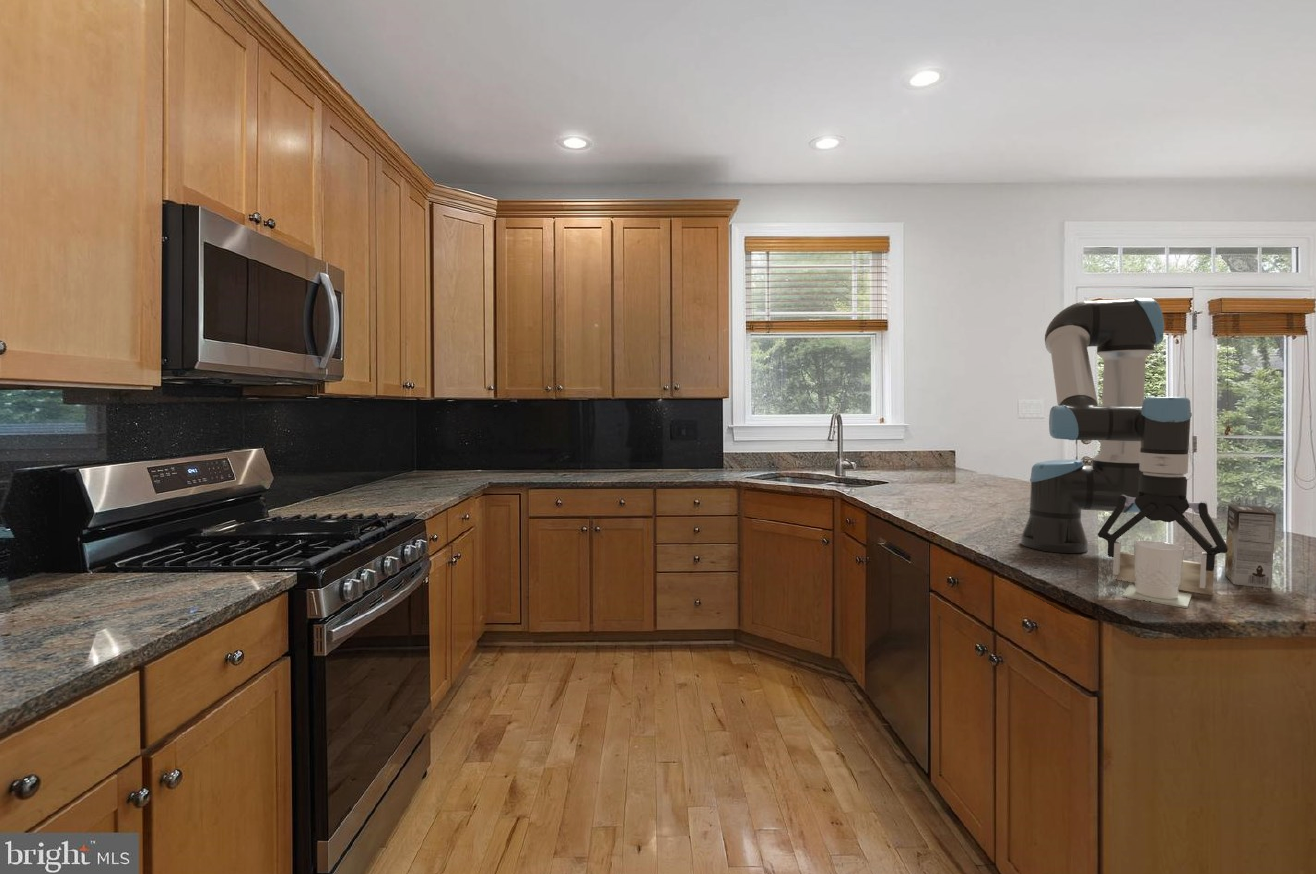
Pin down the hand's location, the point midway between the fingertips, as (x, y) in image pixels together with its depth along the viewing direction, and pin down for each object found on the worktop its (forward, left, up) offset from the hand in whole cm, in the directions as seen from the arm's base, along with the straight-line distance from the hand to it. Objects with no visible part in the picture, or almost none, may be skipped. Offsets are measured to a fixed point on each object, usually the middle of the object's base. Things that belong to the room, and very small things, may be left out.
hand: (1157, 579), depth 126 cm
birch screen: (0, +10, -3) cm, 10 cm away
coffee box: (+13, +26, -4) cm, 30 cm away
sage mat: (0, 0, -3) cm, 3 cm away
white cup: (0, 0, -3) cm, 3 cm away
